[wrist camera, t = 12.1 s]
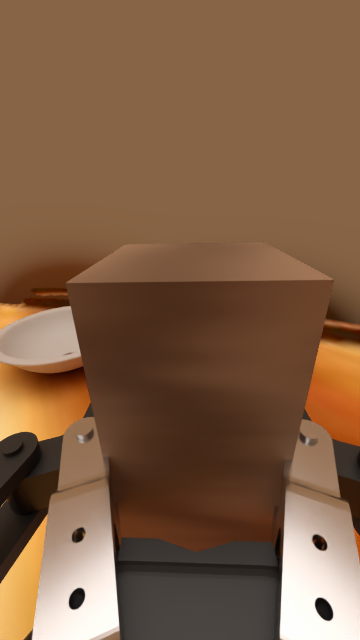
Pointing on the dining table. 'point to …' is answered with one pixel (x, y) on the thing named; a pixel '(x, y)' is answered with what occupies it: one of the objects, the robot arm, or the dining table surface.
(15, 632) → the dining table surface
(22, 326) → the soup bowl
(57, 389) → the dining table surface
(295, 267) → the walnut post
